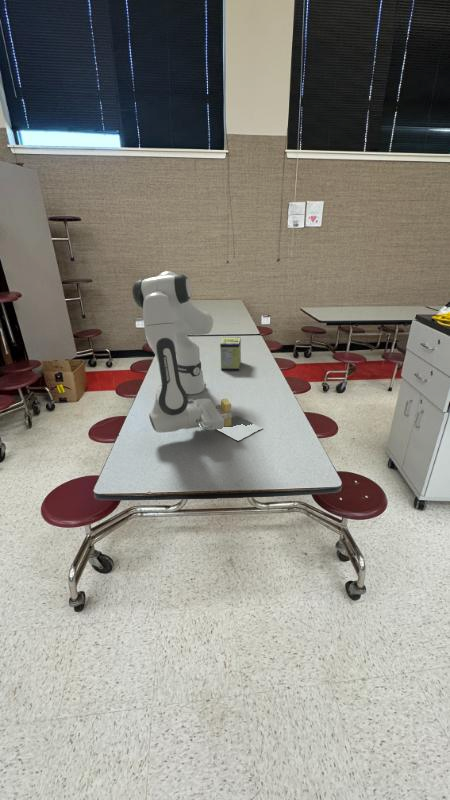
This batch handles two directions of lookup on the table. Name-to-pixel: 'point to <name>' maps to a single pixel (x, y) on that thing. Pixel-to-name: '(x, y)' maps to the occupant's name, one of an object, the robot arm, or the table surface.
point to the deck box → (226, 408)
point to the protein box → (230, 353)
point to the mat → (239, 421)
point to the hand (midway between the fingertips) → (228, 410)
